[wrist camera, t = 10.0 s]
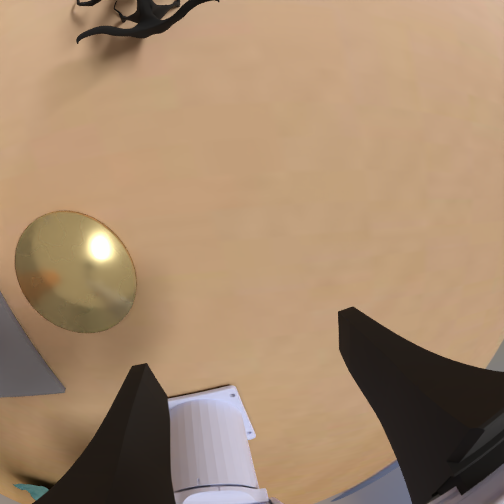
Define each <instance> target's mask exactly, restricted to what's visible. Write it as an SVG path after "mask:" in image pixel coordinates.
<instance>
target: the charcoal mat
mask: <svg viewBox="0 0 504 504" xmlns="http://www.w3.org/2000/svg"><path fill="white" fill-rule="evenodd" d="M65 389H66V388H65V387H64V386H63V385H62V383H61V382H60V381H59V380H58V378H57V377H56V376H55V375H54V373H53V372H52V371H51V369H50V368H49V367H48V365H47V364H46V363H45V361H44V360H43V358H42V357H41V356H40V354H39V353H38V351H37V350H36V349H35V347H34V346H33V344H32V343H31V341H30V340H29V338H28V337H27V335H26V334H25V332H24V331H23V329H22V328H21V326H20V324H19V323H18V321H17V319H16V318H15V316H14V315H13V313H12V311H11V309H10V308H9V306H8V304H7V303H6V301H5V299H4V297H3V295H2V294H1V292H0V397H19V396H34V395H46V394H57V393H65Z"/></svg>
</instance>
